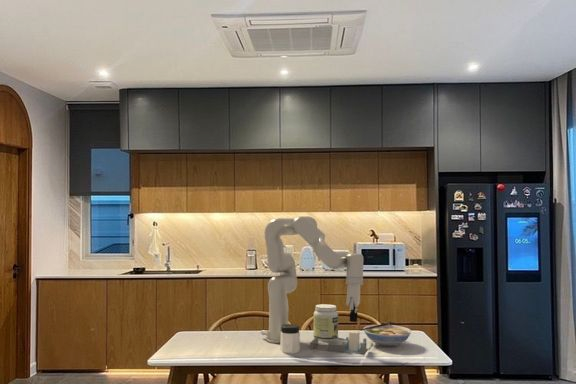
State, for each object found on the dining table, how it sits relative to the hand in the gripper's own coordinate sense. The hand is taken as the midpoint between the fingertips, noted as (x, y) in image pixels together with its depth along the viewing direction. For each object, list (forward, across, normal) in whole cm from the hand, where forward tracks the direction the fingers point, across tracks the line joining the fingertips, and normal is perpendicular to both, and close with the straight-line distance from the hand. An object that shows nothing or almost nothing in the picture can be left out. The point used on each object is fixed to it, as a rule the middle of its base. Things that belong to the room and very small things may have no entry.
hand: (353, 321), depth 227 cm
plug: (+13, 0, +1) cm, 13 cm away
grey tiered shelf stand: (+14, 0, -6) cm, 15 cm away
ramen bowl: (+14, -18, +14) cm, 27 cm away
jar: (+15, +11, -26) cm, 32 cm away
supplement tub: (+15, -17, -16) cm, 28 cm away
